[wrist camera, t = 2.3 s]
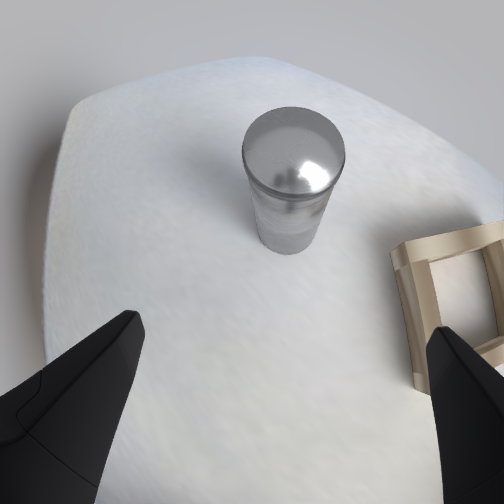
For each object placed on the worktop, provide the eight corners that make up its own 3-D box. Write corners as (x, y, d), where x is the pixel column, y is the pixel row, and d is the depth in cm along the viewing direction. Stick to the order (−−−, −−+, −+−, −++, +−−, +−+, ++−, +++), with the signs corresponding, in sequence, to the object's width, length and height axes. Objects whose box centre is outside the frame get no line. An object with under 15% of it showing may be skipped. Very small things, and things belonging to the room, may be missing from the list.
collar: (415, 389, 19) (432, 396, 16) (389, 252, 22) (404, 241, 19) (510, 346, 19) (531, 346, 16) (487, 230, 22) (505, 219, 19)
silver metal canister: (262, 261, 23) (250, 201, 12) (251, 204, 24) (233, 113, 13) (323, 249, 23) (360, 183, 12) (309, 194, 24) (329, 100, 13)
